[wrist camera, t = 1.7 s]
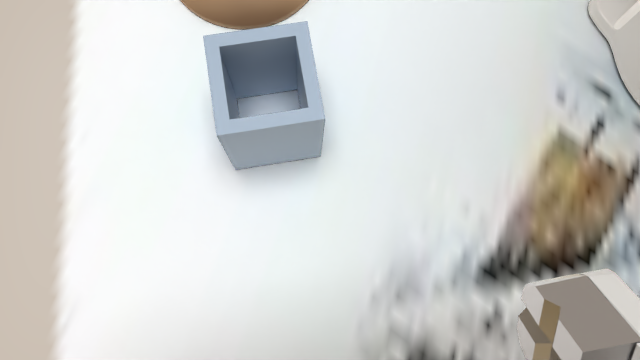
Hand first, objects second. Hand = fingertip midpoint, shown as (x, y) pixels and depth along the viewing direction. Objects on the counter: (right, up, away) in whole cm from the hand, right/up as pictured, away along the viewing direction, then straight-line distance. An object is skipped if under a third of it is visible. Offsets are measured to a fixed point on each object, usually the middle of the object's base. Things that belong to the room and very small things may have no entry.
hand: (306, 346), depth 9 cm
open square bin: (-3, +8, +28) cm, 29 cm away
